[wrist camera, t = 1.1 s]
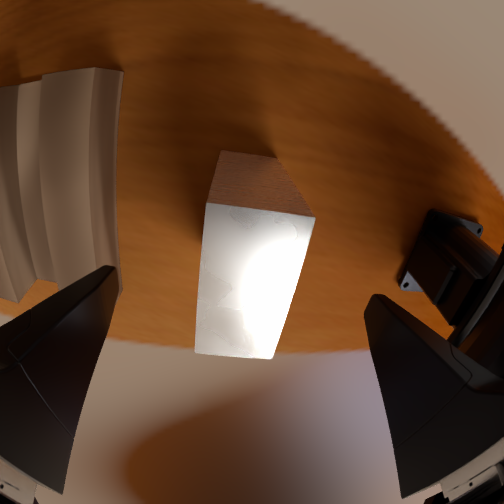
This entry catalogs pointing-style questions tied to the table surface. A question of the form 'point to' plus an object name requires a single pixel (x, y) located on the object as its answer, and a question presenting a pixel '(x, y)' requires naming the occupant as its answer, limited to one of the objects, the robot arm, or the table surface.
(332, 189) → the table surface
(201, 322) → the brushed metal bar
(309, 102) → the table surface
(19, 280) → the grey u-channel
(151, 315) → the table surface
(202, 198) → the table surface
